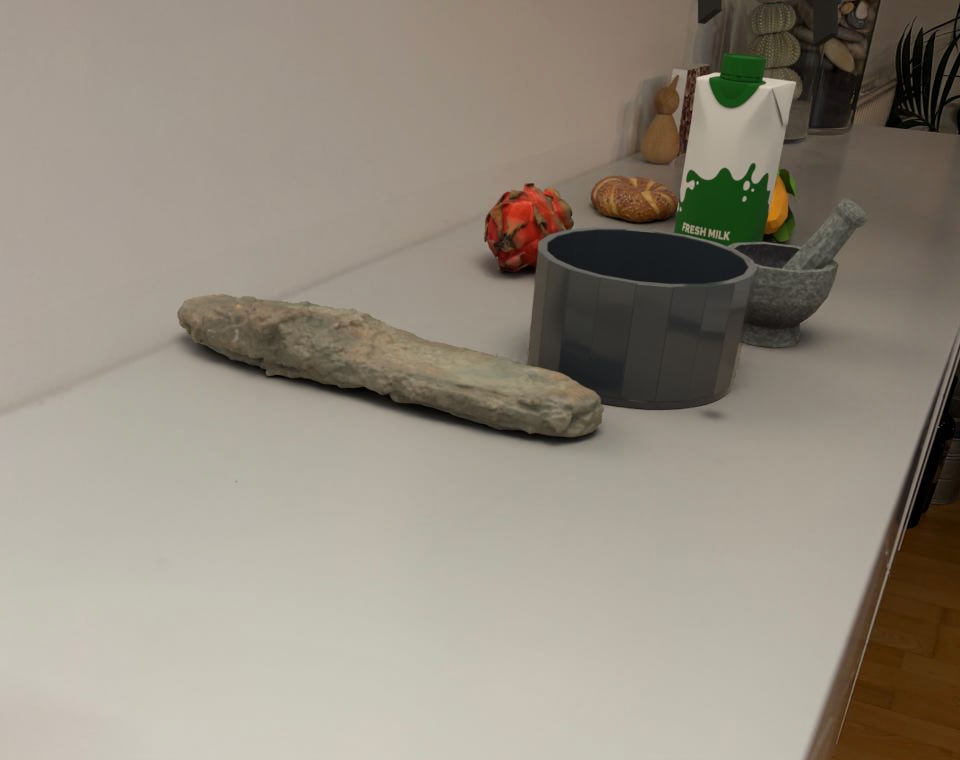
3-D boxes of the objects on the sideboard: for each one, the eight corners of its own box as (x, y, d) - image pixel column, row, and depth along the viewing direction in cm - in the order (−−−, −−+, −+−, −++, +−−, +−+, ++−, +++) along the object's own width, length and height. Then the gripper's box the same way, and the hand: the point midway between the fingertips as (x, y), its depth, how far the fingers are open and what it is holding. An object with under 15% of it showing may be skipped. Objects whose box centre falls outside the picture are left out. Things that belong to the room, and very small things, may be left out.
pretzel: (676, 229, 128) (681, 195, 126) (584, 219, 129) (588, 186, 127) (677, 207, 138) (681, 176, 136) (592, 198, 139) (595, 167, 137)
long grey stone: (563, 481, 72) (614, 438, 79) (578, 405, 69) (629, 368, 77) (143, 343, 82) (225, 318, 90) (141, 273, 79) (226, 253, 87)
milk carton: (658, 269, 113) (691, 51, 101) (690, 252, 119) (724, 47, 108) (738, 286, 109) (782, 63, 98) (766, 268, 116) (810, 57, 105)
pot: (748, 358, 91) (771, 248, 86) (710, 425, 78) (735, 300, 73) (563, 324, 95) (574, 217, 90) (498, 382, 82) (507, 261, 77)
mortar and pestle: (704, 344, 93) (731, 197, 86) (709, 313, 101) (735, 175, 94) (838, 362, 91) (876, 214, 85) (832, 329, 99) (867, 191, 92)
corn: (794, 152, 132) (815, 184, 116) (785, 217, 136) (803, 258, 120) (733, 151, 133) (744, 183, 117) (725, 216, 137) (735, 255, 121)
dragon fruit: (557, 271, 115) (505, 315, 107) (500, 212, 114) (443, 252, 106) (605, 214, 109) (554, 256, 101) (545, 151, 108) (489, 188, 100)
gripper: (843, -152, 110) (844, 65, 112) (632, -213, 101) (636, 25, 102) (898, -200, 103) (898, 32, 105) (677, -270, 94) (680, -14, 95)
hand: (769, 29), depth 104 cm, fingers open, 13 cm apart
